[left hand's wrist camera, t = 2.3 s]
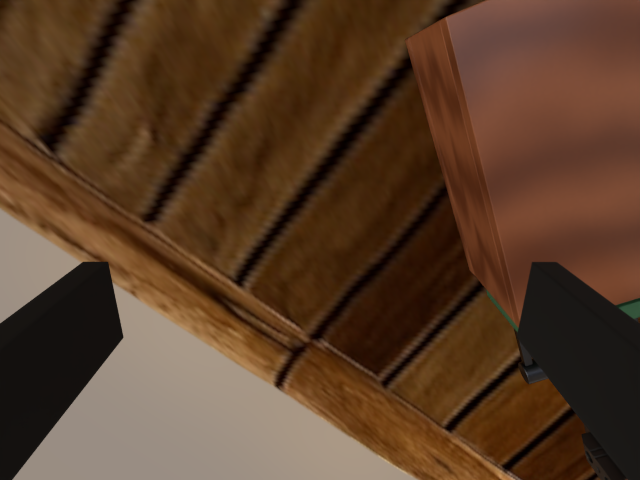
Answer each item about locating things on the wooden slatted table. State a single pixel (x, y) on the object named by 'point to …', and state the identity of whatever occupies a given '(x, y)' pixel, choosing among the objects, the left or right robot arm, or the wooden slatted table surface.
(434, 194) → the wooden slatted table surface
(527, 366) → the drawer
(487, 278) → the cabinet
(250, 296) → the wooden slatted table surface
